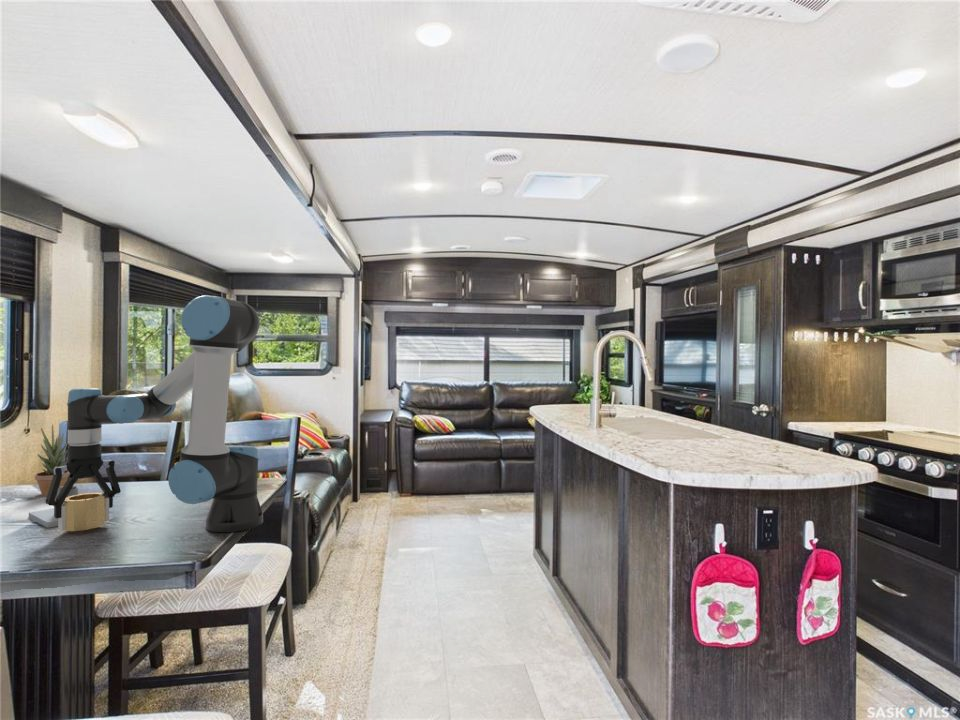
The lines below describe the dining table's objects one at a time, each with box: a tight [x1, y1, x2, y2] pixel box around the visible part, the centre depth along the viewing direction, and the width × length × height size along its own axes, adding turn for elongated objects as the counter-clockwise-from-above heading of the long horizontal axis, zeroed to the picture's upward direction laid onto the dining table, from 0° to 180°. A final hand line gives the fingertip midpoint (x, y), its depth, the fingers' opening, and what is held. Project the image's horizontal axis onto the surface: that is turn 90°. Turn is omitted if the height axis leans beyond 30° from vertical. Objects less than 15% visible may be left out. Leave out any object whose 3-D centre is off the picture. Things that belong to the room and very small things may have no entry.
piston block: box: [28, 484, 79, 529], centre depth 156 cm, size 16×14×9 cm
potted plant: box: [34, 423, 70, 496], centre depth 183 cm, size 10×10×25 cm
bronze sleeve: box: [63, 492, 107, 532], centre depth 144 cm, size 9×9×8 cm
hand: (84, 524), depth 144 cm, fingers closed on bronze sleeve, 9 cm apart
